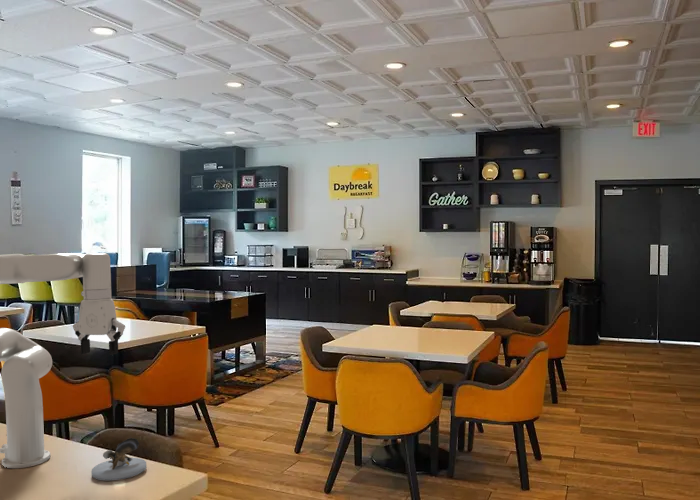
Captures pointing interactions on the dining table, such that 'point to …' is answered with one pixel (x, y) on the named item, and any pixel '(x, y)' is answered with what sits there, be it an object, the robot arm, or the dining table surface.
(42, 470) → the dining table surface
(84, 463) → the dining table surface
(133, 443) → the eagle figurine
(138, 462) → the smooth grey pebble
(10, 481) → the dining table surface
